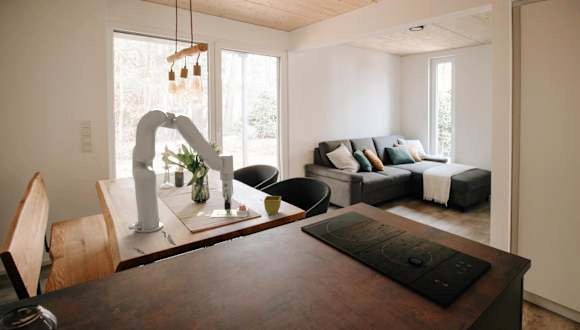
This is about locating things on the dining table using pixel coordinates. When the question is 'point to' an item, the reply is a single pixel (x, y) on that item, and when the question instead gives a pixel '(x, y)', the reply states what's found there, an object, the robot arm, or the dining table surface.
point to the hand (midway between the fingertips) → (228, 207)
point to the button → (242, 207)
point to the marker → (230, 206)
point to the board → (232, 213)
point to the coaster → (204, 214)
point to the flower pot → (272, 204)
